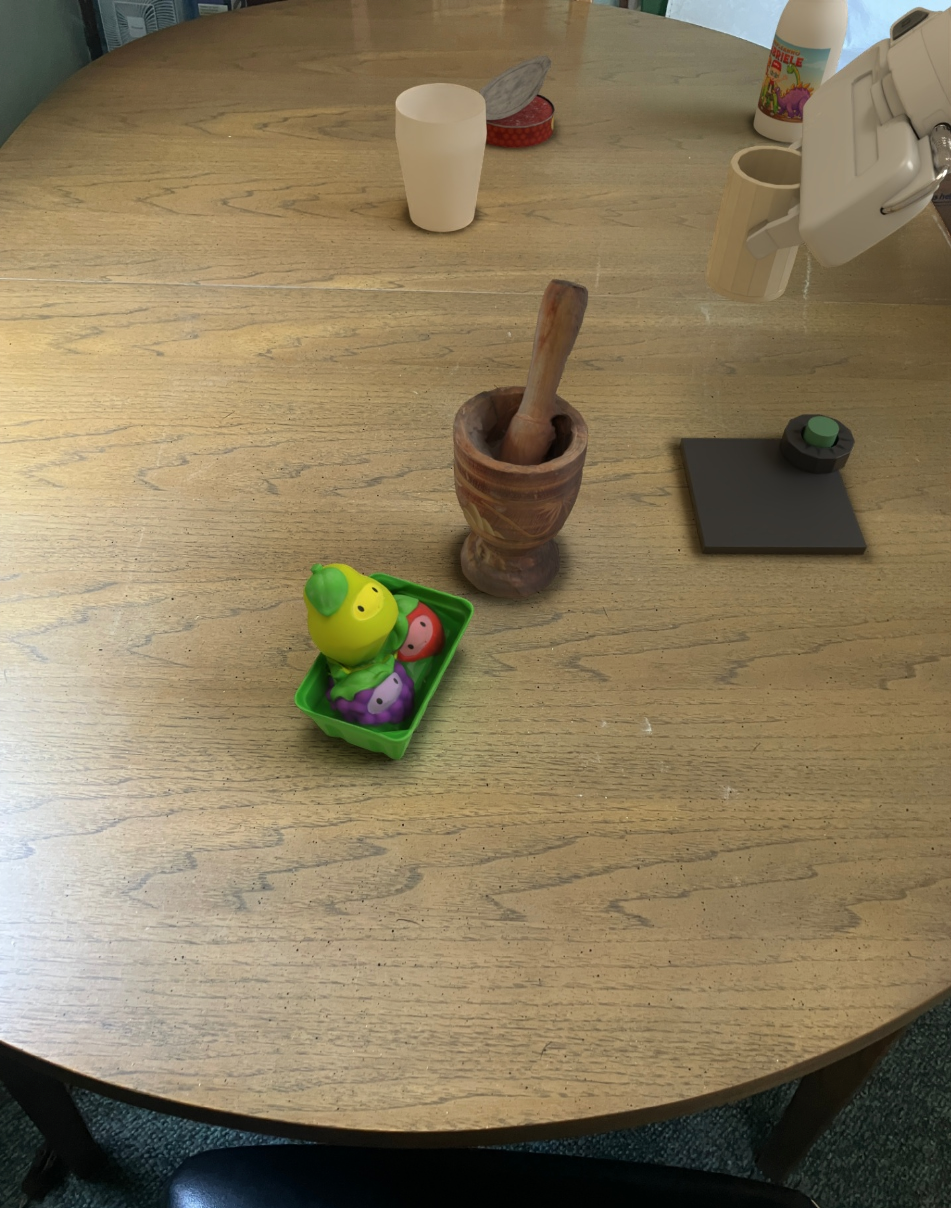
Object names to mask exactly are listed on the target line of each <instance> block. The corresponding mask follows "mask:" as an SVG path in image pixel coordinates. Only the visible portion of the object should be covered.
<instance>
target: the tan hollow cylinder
mask: <svg viewBox="0 0 951 1208" xmlns="http://www.w3.org/2000/svg"><path fill="white" fill-rule="evenodd" d="M800 181H801V152H799V151H796V150H794V149H790V148H788V147H786V146H785V147H784V146H779V145H755V146H750V147H745V148H743V149H741V150H739V151H737V152H736V153H734V154H733V156H732V158H731V160H730V163H729V167H728V172H727V176H726V181H725V184H724V190H723V195H722V198H721V202H720V207H719V211H718V217H717V221H716V223H715V229H714V233H713V239H712V243H711V247H710V251H709V256H708V259H707V265H706V272H705V281H706V283H707V285H708V286H709V287H710V289H711V290H713V292H715V293H717V295H720V296H721V297H724V298H725V299H728V300H730V301H735V302H739V303H743V304H765V303H769V302H772V301H774V300H777V299H779V298H780V297H781V296H783V294H784V293H785V292H786V290H787V287H788V283H789V281H790V278H791V275H792V271H793V268H794V265H795V261H796V258H797V255H798V253H799V252H798V251H799V249H800V245H798V246H793V247H788V248H783V249H778V250H776V251H774V252H773V253H771V254H770V255H768V256H766V257H765V258H763V259H760V260H758V259H755V258H754V257H753V256H752V254H751V253H750V252H749V250H748V249H747V247H746V241H747V234H748V231H749V230H750V229H752V228H754V227H756V226H757V225H758V224H759V223H761V222H763V221H764V220H766V219H767V220H768V221H769V223H770V222H773V221H775V220H778V219H780V218H782V217H785V216H787V215H788V211H789V210H790V209H791V208H793V207H795V206H796V205H798V204H799V203H800Z"/></svg>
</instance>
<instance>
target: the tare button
mask: <svg viewBox="0 0 951 1208" xmlns="http://www.w3.org/2000/svg"><path fill="white" fill-rule="evenodd" d="M830 418H831V417H830ZM830 418H827V417H822V416H817V417H813V418H811V419H810V420H809V421H808V424H807V426H806V429H805V432H804V435H803V438H804V441H806V442H807V443H808V444H809V445H811V446H814V447H817V448H829V447H831V446H832V445H833V444H834V441H835V439H836V436H837V434H838V431H839V426H838V424H837V423H836V422H835V421H833V420H832V419H830Z"/></svg>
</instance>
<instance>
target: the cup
mask: <svg viewBox="0 0 951 1208" xmlns="http://www.w3.org/2000/svg"><path fill="white" fill-rule="evenodd" d="M395 99H396V100H395V127H394V129H395V130H394V131H395V132H394V136H395V137H394V138H395V142H396V147H397V154H398V160H399V164H400V169H401V175H402V180H403V185H404V189H405V191H404V192H405V197H406V202H407V207H408V212H409V217H410V218H409V219H410V220H411V221H412V223H413V224H414V225H415V226H417V227H419V228H421V229H423V230H426V231H429V232H430V231H431V232H436V233H449V232H453V231H459V230H461V229H464V228H465V227H467V226H469V225H470V224H471V223H472V222H473V220H474V218H475V213H476V206H477V199H478V194H479V189H480V183H481V182H480V180H481V177H482V175H481V174H482V168H483V163H484V162H483V161H484V156H485V150H486V144H487V143H486V136H487V129H486V105H485V99H484V98H483V96H482V95H481V94H479V91H477V90H474V89H472V88H470V87H468V86H465V85H460V84H455V83H448V82H447V83H445V82H437V83H436V82H435V83H425V84H420V85H415V86H413V87H410V88H408V89H406V90H404V91H402V92H401V93H399V95H398V96H397V97H396V98H395Z"/></svg>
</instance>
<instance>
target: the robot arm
mask: <svg viewBox="0 0 951 1208" xmlns="http://www.w3.org/2000/svg"><path fill="white" fill-rule="evenodd" d="M787 148H790V149H794V150H796V151H799V152H801V181H800V203H799V204H798V205H796V206H795V207H793V208H791V209H790V210H789V211H788V215H787V216H785V217H782V218H780V219H778V220H775V221H773V222H770V223H769V221H768V220H767V219H766V220H764V221H763V222H761V223H759V224H758V225H757V226H756V227H754V228H752V229H750V230H749V231H748V234H747V241H746V247H747V249H748V250H749V252H750V253H751V254H752V256H753V257H754V258H755V259H758V260H760V259H763V258H765V257H766V256H768V255H770V254H771V253H773V252H774V251H776V250H778V249H783V248H788V247H793V246H798V245H799V246H801V245H805V246H806V247H807V249H808V250H809V252H810V253H811V255H812V256H813V257H814V258H815V260H816V261H817V263H818V264H819V265H820V266H821V267H822V268H826V269H827V268H835V267H840V266H842V265H845V264H846V263H848V262H850V261H851V260H853V259H855V258H856V257H857V256H859V255H861V254H863V253H865V252H866V251H867V250H869V249H870V248H872V247H873V246H875V245H877V244H878V243H880V242H881V241H883V240H884V239H885V238H887V237H889V236H890V235H892V234H893V233H895V232H897V230H899V229H901V228H903V227H904V226H905V225H906V224H908V223H909V222H910V221H911V220H913V219H914V218H915V217H917V216H918V215H919V214H921V212H923V210H925V208H926V207H927V206H928V205H929V204H930V202H931V201H932V199H933V197H934V194H935V192H936V191H937V190H938V189H939V187H940V183H941V182H942V181H943V180H944V179H945V178H946V176H947V175H949V174H951V6H949V7H948V8H946V9H945V10H937V11H934V10H930V9H927V8H925V7H923V6H917V7H914V8H911V9H910V10H909V11H907V12H906V13H904V14H903V15H901V17H899V18H898V19H896V20H895V21H894V22H893V23H892V24H891V25H890V27H889V37H886V38H884V39H881V40H879V41H877V42H876V43H874V44H873V45H871V46H869V47H868V48H866V50H864V51H863V52H862V53H860V54H859V55H858V56H856V57H855V58H854V59H852V60H851V61H850V62H848V63H847V64H846V65H844V66H843V67H842V68H840V69H839V70H838V71H836V73H835V75H834V76H832V77H831V78H830V79H829V80H827V81H826V82H825V83H824V84H823V85H821V86H820V87H819V88H818V89H817V90H816V91H815V92H814V93H813V95H812V96H811V97H810V98H809V99H808V101H807V102H806V103H805V105H804V107H803V125H802V137H801V138H800V139H798V140H797V141H795V142H794V143H791V144H789V146H788V147H787Z"/></svg>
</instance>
